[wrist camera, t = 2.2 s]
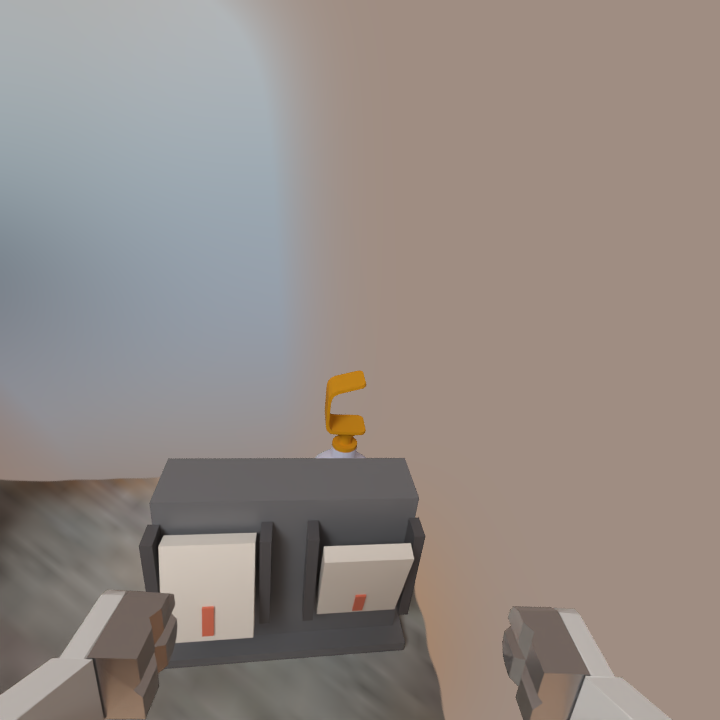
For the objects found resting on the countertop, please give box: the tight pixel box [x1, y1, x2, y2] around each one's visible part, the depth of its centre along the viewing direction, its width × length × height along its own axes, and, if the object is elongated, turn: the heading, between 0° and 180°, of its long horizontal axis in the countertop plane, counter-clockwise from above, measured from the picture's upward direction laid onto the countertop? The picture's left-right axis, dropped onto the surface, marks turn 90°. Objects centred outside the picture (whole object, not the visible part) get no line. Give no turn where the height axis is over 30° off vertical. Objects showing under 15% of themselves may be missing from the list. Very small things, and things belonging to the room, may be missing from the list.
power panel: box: [139, 458, 425, 669], centre depth 45 cm, size 26×10×20 cm, turn 98°
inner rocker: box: [158, 533, 257, 643], centre depth 38 cm, size 8×2×10 cm, turn 98°
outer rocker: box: [316, 543, 414, 614], centre depth 41 cm, size 8×2×10 cm, turn 98°
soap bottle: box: [316, 371, 366, 458], centre depth 57 cm, size 9×9×25 cm
